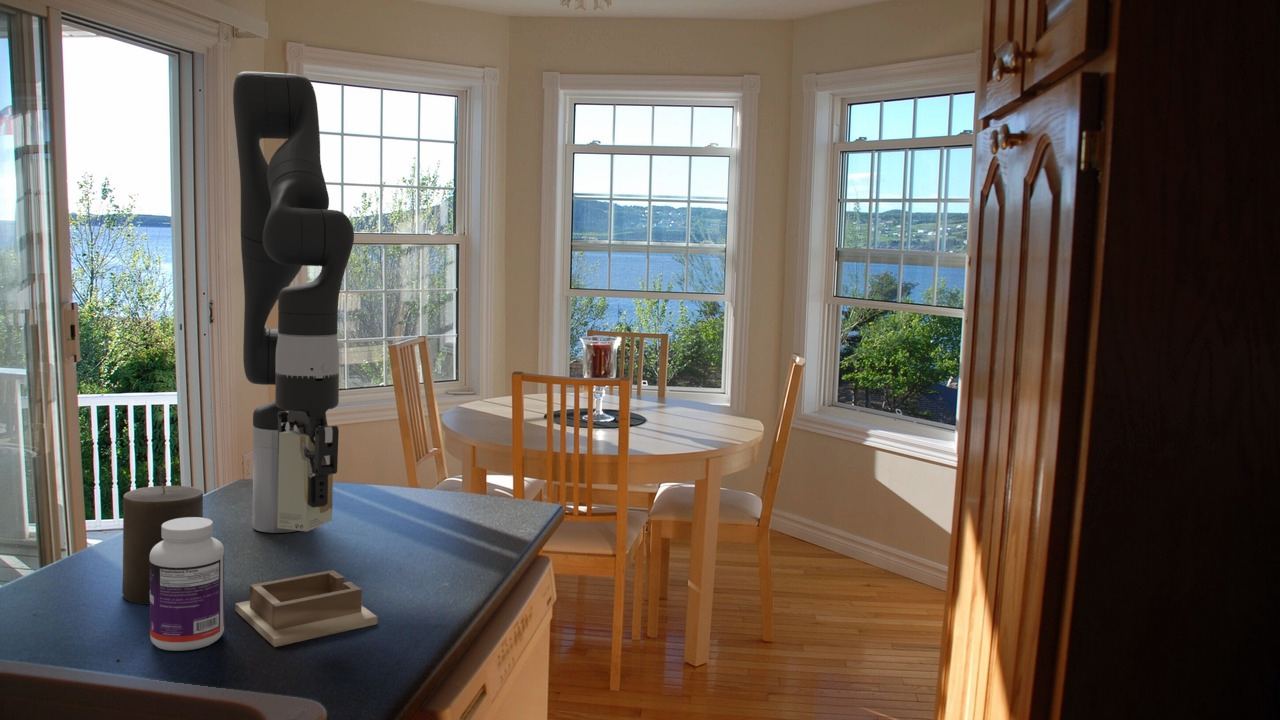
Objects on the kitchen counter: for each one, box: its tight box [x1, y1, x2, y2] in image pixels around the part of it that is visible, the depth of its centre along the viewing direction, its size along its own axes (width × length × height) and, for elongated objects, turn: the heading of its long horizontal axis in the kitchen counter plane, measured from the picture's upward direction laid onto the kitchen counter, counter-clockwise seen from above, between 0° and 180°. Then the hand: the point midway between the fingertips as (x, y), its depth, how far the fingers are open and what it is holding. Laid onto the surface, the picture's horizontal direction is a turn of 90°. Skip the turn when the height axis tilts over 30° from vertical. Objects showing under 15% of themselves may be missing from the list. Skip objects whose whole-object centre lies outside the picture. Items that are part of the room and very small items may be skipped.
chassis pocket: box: [234, 569, 378, 648], centre depth 124 cm, size 14×13×4 cm
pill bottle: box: [149, 517, 225, 652], centre depth 115 cm, size 8×8×14 cm
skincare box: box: [277, 430, 334, 533], centre depth 123 cm, size 6×4×12 cm
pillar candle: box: [121, 483, 204, 605], centre depth 130 cm, size 10×10×15 cm
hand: (306, 499), depth 123 cm, fingers closed on skincare box, 7 cm apart
